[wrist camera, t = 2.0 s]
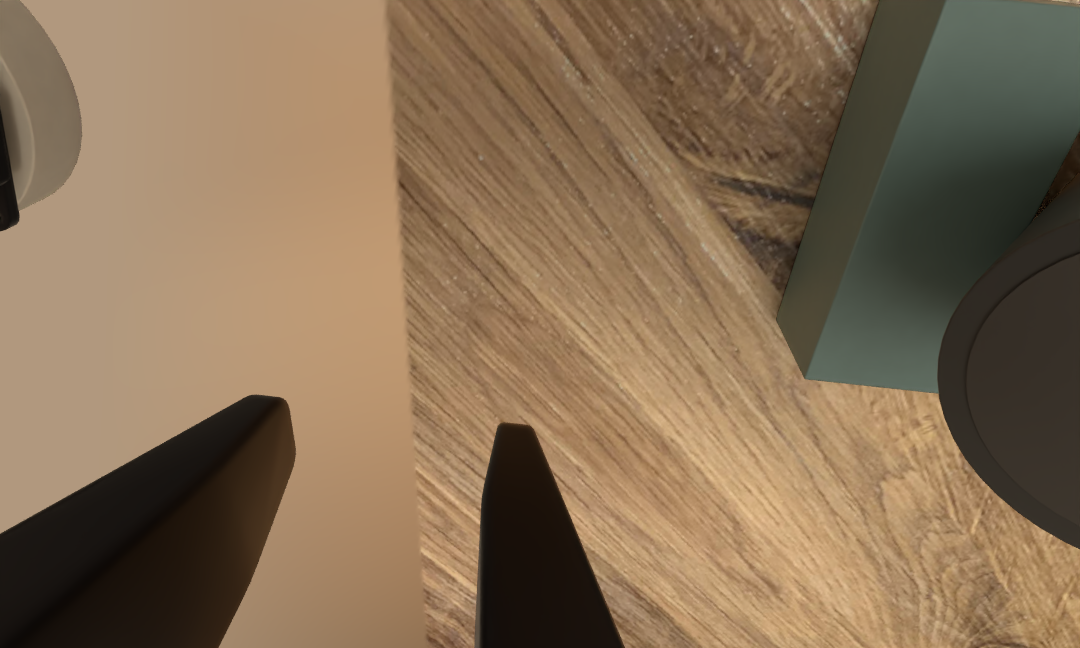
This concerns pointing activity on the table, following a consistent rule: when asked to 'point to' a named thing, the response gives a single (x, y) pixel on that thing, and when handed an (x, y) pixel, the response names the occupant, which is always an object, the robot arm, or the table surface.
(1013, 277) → the bin
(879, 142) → the prop block
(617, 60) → the table surface
